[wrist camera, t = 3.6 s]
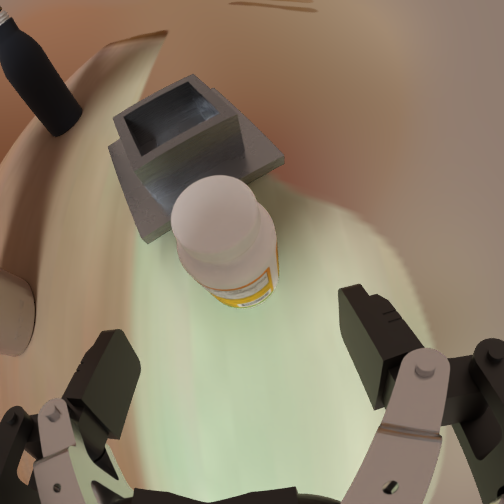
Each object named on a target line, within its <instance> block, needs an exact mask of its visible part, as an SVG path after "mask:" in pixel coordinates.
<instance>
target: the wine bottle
mask: <svg viewBox="0 0 504 504" xmlns="http://www.w3.org/2000/svg"><path fill="white" fill-rule="evenodd" d="M1 10H2V8H1V7H0V11H1ZM0 62H1V66H2V69H3V71H4V73H5V76H6V78H7V79H8V80H9V82H10V83H11V84H12V86H13V87H14V88H15V90H16V91H17V92H18V93H19V95H20V96H21V98H22V99H23V100H24V101H25V102H26V104H27V105H28V106H29V108H30V109H31V110H32V111H33V112H34V114H35V115H36V116H37V118H38V119H39V120H40V121H41V123H42V124H43V125H44V126H45V127H46V129H47V130H48V131H49V132H50V133H51V134H52V136H55V137H56V136H60V135H62V134H63V133H65V132H66V131H68V130H69V129H70V128H71V127H72V126H73V125H74V124H75V123H76V122H77V121H78V119H79V118H80V116H81V114H82V108H81V107H80V105H79V104H78V103H77V101H76V100H75V98H74V97H73V95H72V94H71V92H70V91H69V89H68V88H67V86H66V85H65V83H64V82H63V80H62V79H61V78H60V76H59V74H58V73H57V71H56V70H55V68H54V67H53V65H52V63H51V62H50V60H49V59H48V57H47V55H46V54H45V52H44V51H43V49H42V47H41V46H40V45H39V44H38V43H37V42H36V41H35V40H34V39H33V38H32V37H30V36H29V35H27V34H26V33H24V32H22V31H21V30H19V28H18V27H17V25H16V23H15V22H14V20H13V18H12V17H11V18H9V15H7V12H5V11H3V12H2V13H0Z"/></svg>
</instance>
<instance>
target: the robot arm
mask: <svg viewBox="0 0 504 504" xmlns="http://www.w3.org/2000/svg"><path fill="white" fill-rule="evenodd" d="M338 300H339V322H340V330H341V335H342V338H343V341H344V343H345V345H346V347H347V349H348V352H349V354H350V356H351V358H352V361H353V363H354V365H355V367H356V369H357V372H358V374H359V376H360V379H361V381H362V383H363V385H364V388H365V390H366V392H367V395H368V397H369V399H370V402H371V404H372V406H373V409H374V410H377V409H380V408H383V407H385V409H386V412H385V414H384V417H383V420H382V422H381V424H380V426H379V427H378V429H377V432H376V434H375V436H374V438H373V441H372V443H371V445H370V448H369V450H368V452H367V454H366V456H365V458H364V460H363V463H362V465H361V467H360V469H359V471H358V473H357V475H356V476H355V478H354V480H353V482H352V484H351V486H350V488H349V489H348V491H347V493H346V495H345V497H344V498H343V500H342V502H340V501H338V500H335V499H332V498H329V497H324V496H319V495H312V494H298V492H297V489H296V486H295V487H289V488H283V489H275V490H267V491H258V492H250V493H247V494H243V495H240V496H236V497H232V498H228V499H224V500H220V501H216V502H210V503H206V502H201V501H197V500H193V499H190V498H186V497H183V496H179V495H176V494H173V493H170V492H162V491H153V490H145V489H138V488H134V491H133V490H132V489H131V488H130V487H129V485H128V484H127V482H126V480H125V478H124V477H123V475H122V473H121V470H120V468H119V466H118V464H117V462H116V460H115V458H114V456H113V453H112V451H111V449H110V447H109V446H108V445H107V444H106V441H107V438H110V439H119V440H120V437H121V433H122V430H123V426H124V423H125V420H126V416H127V413H128V410H129V406H130V403H131V400H132V397H133V394H134V391H135V388H136V385H137V382H138V379H139V376H140V372H141V366H140V361H139V359H138V357H137V355H136V353H135V352H134V350H133V348H132V346H131V345H130V343H129V341H128V339H127V338H126V336H125V334H124V332H123V331H122V330H120V329H115V330H107V331H102V332H101V333H100V335H99V337H98V338H97V340H96V342H95V344H94V345H93V346H92V347H91V348H90V349H89V350H88V351H87V352H86V353H85V355H84V357H83V359H82V361H81V364H79V366H78V368H77V372H75V373H74V375H73V377H72V379H71V381H70V383H69V385H68V387H67V389H66V391H65V392H64V394H63V396H62V398H61V399H60V398H55V399H52V400H49V401H48V402H46V403H45V404H44V405H43V406H42V408H41V409H40V411H39V414H35V415H30V416H29V415H28V414H27V413H26V412H25V410H24V409H23V408H22V407H20V406H14V407H12V408H10V409H9V410H8V411H7V412H6V413H5V415H4V416H3V418H2V420H1V423H0V504H422V503H423V501H424V498H425V496H426V493H427V490H428V488H429V485H430V482H431V479H432V476H433V473H434V470H435V467H436V463H437V460H438V456H439V453H440V449H441V444H442V436H441V435H439V432H440V427H441V426H446V425H452V427H453V429H454V431H455V434H456V436H457V438H458V440H459V443H460V445H461V447H462V449H463V452H464V454H465V456H466V459H467V461H468V464H469V466H470V469H471V471H472V474H473V477H474V479H475V482H476V485H477V488H478V491H479V493H480V496H481V499H482V503H483V504H504V341H502V340H499V339H495V338H489V339H485V340H483V341H481V342H480V343H479V344H478V345H477V346H476V348H475V351H474V353H473V355H469V356H463V357H457V358H446V356H445V355H443V354H442V353H441V352H439V351H437V350H435V349H431V348H424V346H423V345H422V344H421V342H420V341H419V339H418V338H417V337H416V335H415V334H414V333H413V331H412V330H411V329H410V327H409V326H408V325H407V324H406V322H405V321H404V320H403V319H402V317H401V316H400V314H399V313H398V312H396V309H395V308H394V307H393V306H392V304H391V303H390V302H389V301H388V300H387V299H385V298H383V297H381V296H380V295H378V294H374V295H371V296H369V295H368V293H367V292H366V291H365V289H364V288H363V287H362V285H361V284H356V285H352V286H348V287H344V288H340V289H339V290H338ZM34 317H35V306H34V298H33V294H32V291H31V288H30V286H29V284H28V283H27V282H26V281H25V280H23V279H22V278H20V277H18V276H15V275H13V274H11V273H9V272H7V271H5V270H3V269H1V268H0V354H3V355H9V356H18V355H20V354H21V353H23V351H24V350H25V349H26V348H27V346H28V343H29V341H30V338H31V335H32V332H33V326H34ZM24 450H25V451H27V452H28V453H29V454H30V455H31V456H33V457H34V458H35V459H36V461H35V462H34V464H33V471H32V474H31V478H30V481H29V484H28V486H27V485H26V484H24V483H23V482H22V481H20V479H19V478H18V476H17V467H18V465H19V462H20V459H21V456H22V453H23V451H24Z"/></svg>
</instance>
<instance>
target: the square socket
mask: <svg viewBox="0 0 504 504" xmlns="http://www.w3.org/2000/svg"><path fill="white" fill-rule="evenodd" d="M113 120H114V123H115V126H116V128H117V131H118V134H119V136H120V139H119V140H117V141H116V142H114V143H113V144H111V145H110V146H108V149H109V152H110V155H111V158H112V161H113V164H114V167H115V170H116V173H117V176H118V179H119V182H120V184H121V187H122V190H123V193H124V195H125V198H126V201H127V203H128V206H129V209H130V211H131V214H132V216H133V219H134V221H135V224H136V226H137V229H138V231H139V233H140V236H141V238H142V239H143V240H144V241H145V242H146V243H147V244H149V243H151V242H152V241H154V240H155V239H157V238H158V237H160V236H161V235H163V234H165V233H166V232H168V231H169V230H171V229H172V227H171V214H172V209H173V207H174V204H175V202H176V200H177V198H178V197H179V196H180V194H181V193H182V192H183V191H184V190H185V189H186V188H187V187H188V186H190V185H191V184H193V183H194V182H196V181H198V180H200V179H203V178H206V177H209V176H215V175H225V176H230V177H234V178H236V179H239V180H241V181H242V182H244V183H245V184H248V183H250V182H252V181H254V180H255V179H257V178H259V177H261V176H263V175H264V174H266V173H268V172H270V171H272V170H274V169H275V168H277V167H279V166H281V165H283V164H284V155H283V154H282V152H281V151H280V150H279V149H278V148H277V147H276V146H275V145H274V144H273V143H272V142H271V141H270V140H269V139H268V138H267V137H266V136H265V135H264V134H263V133H262V132H261V131H260V130H259V129H258V128H257V127H256V126H255V125H254V124H253V123H252V122H251V121H250V120H249V119H247V118H246V117H245V116H244V115H243V114H242V113H241V112H240V111H239V110H238V109H237V108H236V107H235V106H234V105H233V104H232V103H230V102H229V101H228V100H227V99H226V98H225V97H224V96H223V95H222V94H220V93H219V92H218V91H217V90H216V89H215V88H212V89H210V88H209V87H208V86H206V85H205V84H204V83H203V82H202V81H201V80H200V79H199V78H198V77H196V76H195V75H194V74H192V75H190V76H188V77H186V78H183V79H181V80H179V81H177V82H175V83H173V84H171V85H169V86H167V87H165V88H163V89H161V90H159V91H157V92H156V93H154V94H152V95H150V96H148V97H147V98H145V99H143V100H141V101H139V102H138V103H136V104H134V105H133V106H131V107H129V108H128V109H126V110H124V111H123V112H121V113H119V114H118V115H116V116H115V117H113Z"/></svg>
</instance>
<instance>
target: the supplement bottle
mask: <svg viewBox="0 0 504 504" xmlns="http://www.w3.org/2000/svg"><path fill="white" fill-rule="evenodd" d="M171 227H172V231H173V233H174V236H175V237H176V239H177V251H178V256H179V259H180V261H181V263H182V265H183V267H184V268H185V270H186V271H187V272H188V273H189V274H190V275H191V276H192V277H193V278H194V279H195V280H196V281H197V282H198V283H199V284H201V285H202V286H203V287H204V288H205V289H206V290H207V291H208V292H210V293H211V294H212V295H213V296H214V297H215V298H216V299H218V300H219V301H220V302H222V303H223V304H225V305H227V306H229V307H232V308H236V309H248V308H252V307H255V306H258V305H260V304H262V303H263V302H264V301H266V300H267V299H268V298H269V297H270V296H271V295H272V293H273V292H274V290H275V288H276V286H277V283H278V279H279V262H278V250H277V236H276V231H275V226H274V223H273V220H272V218H271V216H270V215H269V213H268V212H267V210H266V209H265V208H264V207H263V206H262V205H261V204H260V203H258V202H257V200H256V197H255V195H254V193H253V192H252V190H251V189H250V188H249V187H248V186H247V185H246V184H245V183H244V182H242V181H241V180H239V179H236V178H234V177H230V176H225V175H215V176H209V177H206V178H203V179H200V180H198V181H196V182H194V183H193V184H191V185H190V186H188V187H187V188H186V189H185V190H184V191H183V192H182V193H181V194H180V196H179V197H178V198H177V200H176V202H175V204H174V207H173V209H172V214H171Z"/></svg>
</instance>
